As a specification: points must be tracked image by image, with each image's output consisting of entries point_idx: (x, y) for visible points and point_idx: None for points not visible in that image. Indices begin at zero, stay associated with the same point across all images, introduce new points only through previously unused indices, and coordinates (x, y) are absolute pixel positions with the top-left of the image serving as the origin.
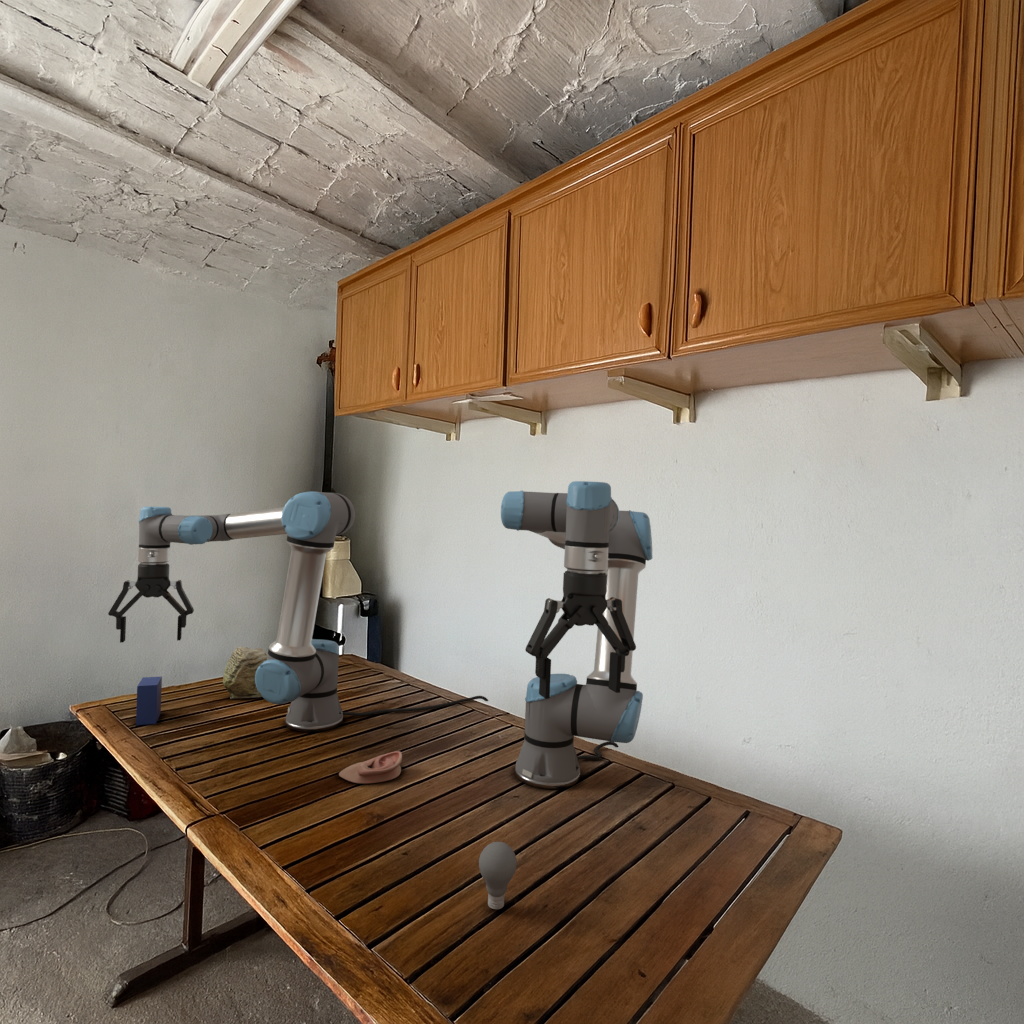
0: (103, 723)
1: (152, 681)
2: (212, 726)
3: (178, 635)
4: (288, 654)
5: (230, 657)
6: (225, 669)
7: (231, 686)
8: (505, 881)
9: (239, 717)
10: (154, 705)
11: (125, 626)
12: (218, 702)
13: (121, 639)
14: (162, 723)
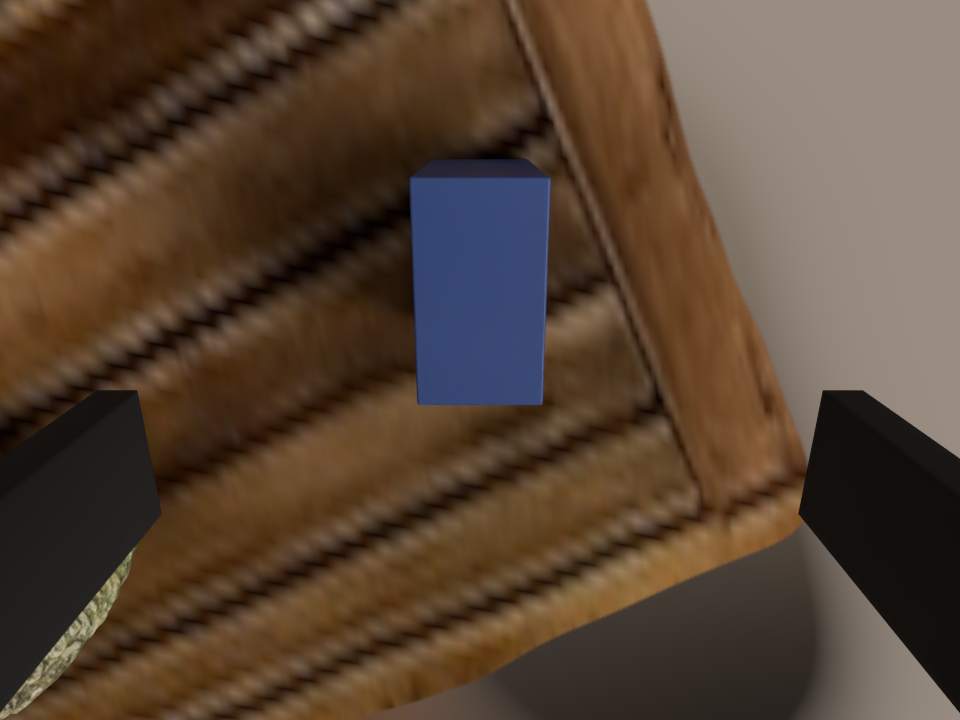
0: (687, 236)
1: (459, 281)
2: (118, 33)
3: (77, 420)
4: None
5: (29, 696)
6: (94, 615)
7: None
8: None
9: (6, 160)
10: (434, 165)
11: (923, 644)
12: (184, 437)
13: (869, 409)
14: (399, 160)
